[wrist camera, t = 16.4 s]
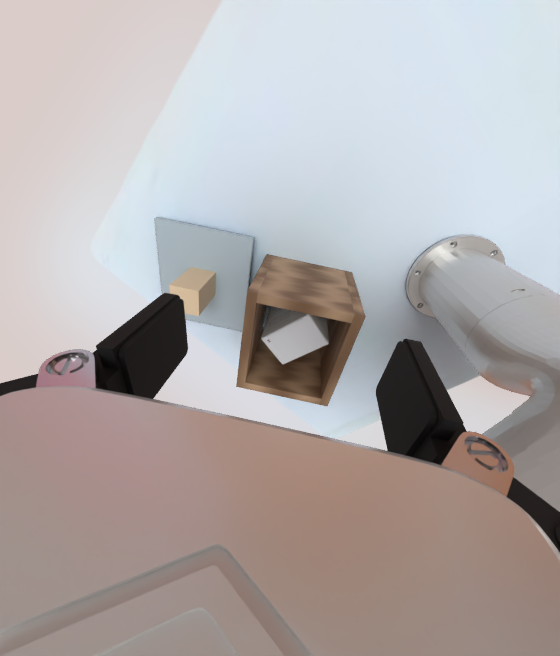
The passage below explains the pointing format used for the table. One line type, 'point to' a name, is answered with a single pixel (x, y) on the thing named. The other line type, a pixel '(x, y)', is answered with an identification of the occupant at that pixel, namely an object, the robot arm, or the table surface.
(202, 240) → the lid
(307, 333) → the small box
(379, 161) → the table surface
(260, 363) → the crate
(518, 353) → the robot arm
